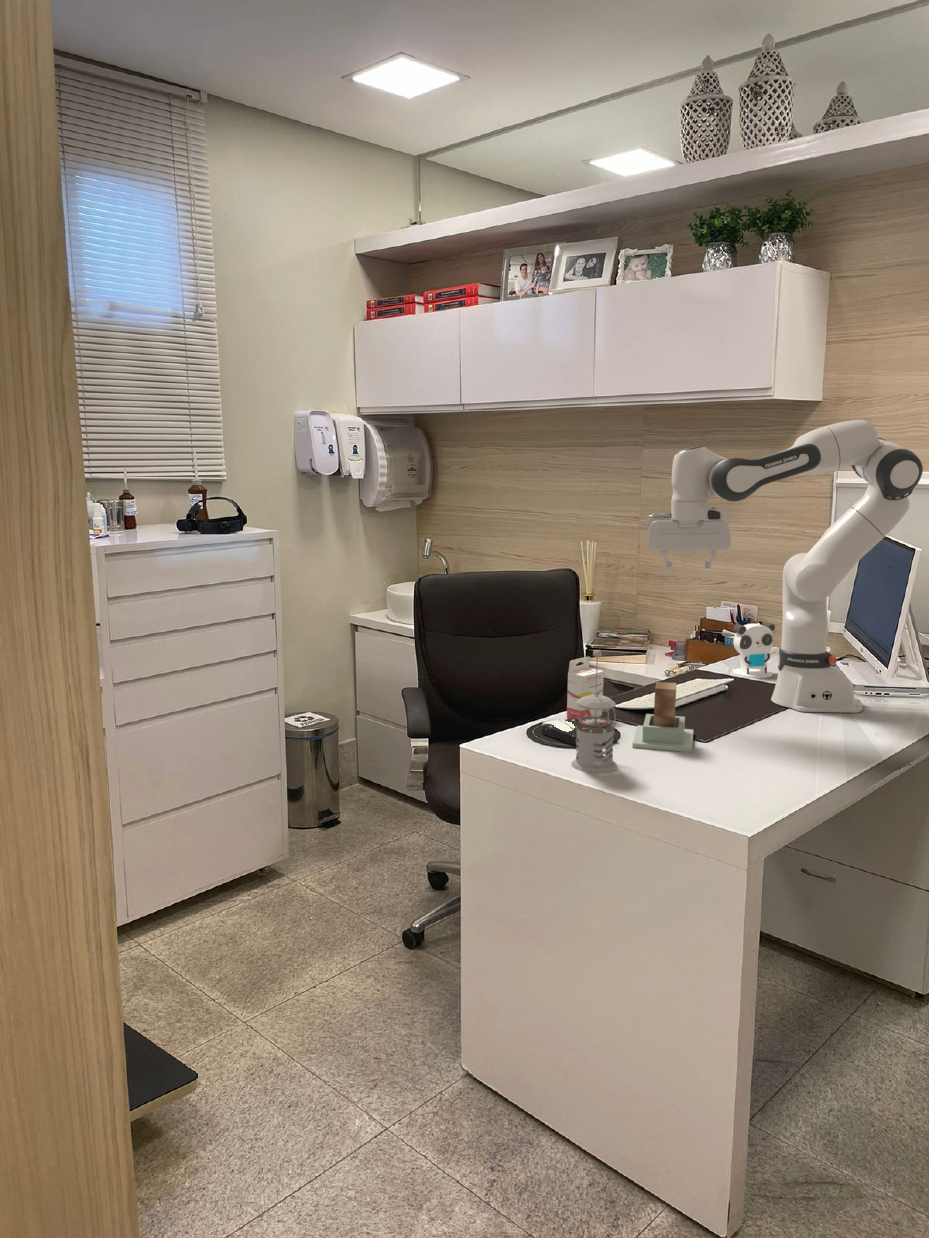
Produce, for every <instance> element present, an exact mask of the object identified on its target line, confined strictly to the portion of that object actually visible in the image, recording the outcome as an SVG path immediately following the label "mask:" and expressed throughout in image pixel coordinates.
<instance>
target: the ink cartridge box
mask: <svg viewBox="0 0 929 1238" xmlns="http://www.w3.org/2000/svg"><path fill="white" fill-rule="evenodd" d="M579 663H582V664H580V665H579ZM590 663H591V656H584V657H581V658H576V659H572V660H569V664H568V665H569V666H568V673H567V694H566V695H567V696H566V697H567V699H566V702H567V703H566V704H567V705H566V718H567V719H571V718H575V719H578V720H579V719H580V718H582V717H588V716H589V717H590V716H595V710H591V709H585V708H582V707H580V706H579V705H578V704H577V701H578V700H579V699H580V698H582V697H585V696H588V695H593V694H596V668H591V667H590ZM604 672H605V671H604V670H602V669H597V694H598V695H603V696H604V675H605V673H604ZM602 715H603V711H602V710H596V716H598V717H602Z"/></svg>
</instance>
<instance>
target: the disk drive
mask: <svg viewBox="0 0 929 1238" xmlns="http://www.w3.org/2000/svg"><path fill="white" fill-rule="evenodd" d="M564 720H565V721H568V722H572V724H574V726H575V728H574V730H572V731H569V732H566V731H562V730H560V729H558V728H556V727H554V725H552V723H546V724H542V725H541V734H542V735H544V734H545V735H544V736H546V735H548V736H547V737H549V736H553V737H555V738H556V739H555V738H554V739H555V740H557V739H561V740H563V741H566V742H568V743H570V744H569V745H571V746H574V747H576V745H577V743H576V741H577V742H578V740H579V739H578V740H577V726H578V725H580V723H579V720H578V719H575V718H571V719H569V718H567V719H564ZM605 730H606V728H605V727H603V733H605ZM580 731H588V732H591V733H592V730H591V729H588V728H582V729H581V730H580ZM617 736H618V735H617V734H616V732H614V734H613V737H614V738H613V743H617V740H618V739H617V738H618V737H617ZM563 741H562V742H563ZM568 743H567V744H568ZM604 745H606V742H605V743H603V746H604ZM577 747H578V745H577Z"/></svg>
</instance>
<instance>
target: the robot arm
mask: <svg viewBox="0 0 929 1238" xmlns="http://www.w3.org/2000/svg"><path fill="white" fill-rule="evenodd" d="M674 454H675V455H674V457H673V461H672V468H671V486H672V496H671V500H670V501H671V503H670V504H671V505H670V506H671V507H670V512H663V513H658V512H657V513H652V514H651V515H649V516H648V517H647V519H646V529H647V530H648V537H647V549H649V550H650V551H661V556H662V558H663V559H664V561H665V568H666V569H673V561H672V560H669V559H668V556H667V555H668V553H669V551H709V555H710V557H709V559H708V560H705V561H704V569H706V570H708V569H709V570H711V569H712V562H713V560H714V558H715V557H716V555H717V551H728V550H730V548H732V541H731V530H730V526H729V524H728V523H727V521H726V519H727V512H726V511H724V510H722V509H719V508H716V507H714V506H709V497H711V496H713V497H715V498H718V499H723V500H726V501H730V502H740V501H742V500H745V499H747V498H748V497H750V496H751V495H752V494H753V493H755V492H756V491H757V490H759V489H760V488H761V487H762V486H764V485H768V484H771V483H774V482H777V481H781V480H784V479H786V478H790V477H793V476H799V475H802V476H803V475H804V476H812V475H821V474H825V473H831V472H834V471H838V470H840V469H843V468H846V467H847V468H848V467H851V468H852V470H853V471H854V473H855V474H856V475H857V476H858V477H859V478H861V479H863V480H864V481H865V482H867V483H868V485H867V489H866V490H865V493H864V494H863V495H862V496H861V498H860V499H858V500H857V501H856V502H855V503H854V504H852V506H851V507H850V508H848V509H847V510H846V511H845V512H844V513H843V514H842V515H841V516H840V517H838V518H837V519H836V520H835V521H834V522H833V523H832V524H831V525H830V526H829V527H828V528H827V529H826V530H825V531H824V533H823V535H821V537H820V538H819V539H818V540H817V542H816V543H815V544H814V545H813V546H812V548H810V550H809V551H808V552H801V553H796V554H794V555H793V556H791V557H790V558H789V559H788V560H787V561H786V562H785V564H784V566H783V569H782V592H781V594H782V595H781V597H782V599H781V600H782V601H781V602H782V626H781V628H782V629H781V640H780V641H781V642H780V648H779V649H778V654H777V669H778V672H777V678H776V682H775V685H774V689H773V693H772V695H771V698H770V700H771V701H772V702H773V703H774V704H775V705H779V706H782V707H786V708H789V709H793V710H795V711H797V712H803V713H804V712H806V713H808V712H809V713H812V712H813V713H854V714H855V713H860V712H862V711H863V710H864V705H863V703H862V701H861V700H860V699H858V698H857V697H855V689H854V685H853V684H852V682H851V681H850V679H849V678H848V677H847V676H845V675H844V674H843V673H841V671H839V670H838V669H837V668H836V667H834V666H833V665H836V664H837V663H838V659H837V657H836V656H835V655H834V654H832V653H831V652H830V651H827V639H828V638H827V637H828V636H827V635H828V625H829V624H828V623H829V621H828V608H827V607H828V606H827V598H828V597H829V596H831V594H832V593H833V591H834V590H835V589H836V588H837V587H838V585H840V583H841V582H842V581H843V580H844V579H845V578H846V576H847V575H849V573H850V572H851V571H852V569H854V567H855V566H856V565H857V563H859V562H860V560H861V559H862V558H863V557H864V556H865V555H867V554H868V553H869V552H870V551H871V550H872V549H873V548H874V547H875V546H877V544H879V542H881V541H882V540H883V539H884V538H885V537H886V536H887V535H888V534H889V533H891V532H892V530H893V529H895V527H896V525H897V526H898V523H899V522H900V521H901V520H902V519H903V517H904V516H905V514H907V512H908V510H909V508H910V499H909V496H911V494H912V493H913V491H914V489H915V488H916V487H917V486H918V484H919V482H920V480H921V478H922V476H923V470H924V468H923V463H922V461H921V459H920V458H919V456H917V454H915V453H914V452H913V451H912V450H909V449H907V448H906V447H904V446H902V445H901V444H898V443H896V442H892V441H888V440H886V439H884V438H882V437H879V435H878V432H877V430H876V428H875V426H874V425H873V423H872V422H870V421H868V420H866V419H854V420H853V419H852V420H846V421H841V422H836V423H831V424H828V425H825V426H820V427H817V428H816V429H815V428H814V429H813V430H810V431H808V432H806V433H804V434H802V435H800V436H798V437H797V438H796V439H795V441H794V443H793V445H792V446H790V447H789V448H787V449H785V450H781V451H778V452H776V453H773V454H772V453H771V454H769V455H765V456H762V457H759V458H755V459H747V458H741V457H732V458H727V457H723V455H722V456H721V455H719V454H717V453H715V452H713V451H711V450H709V448H707V447H706V446H704V445H696V446H691V447H687V448H683V449H679V450H678V451H677V452H676V453H674Z"/></svg>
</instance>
